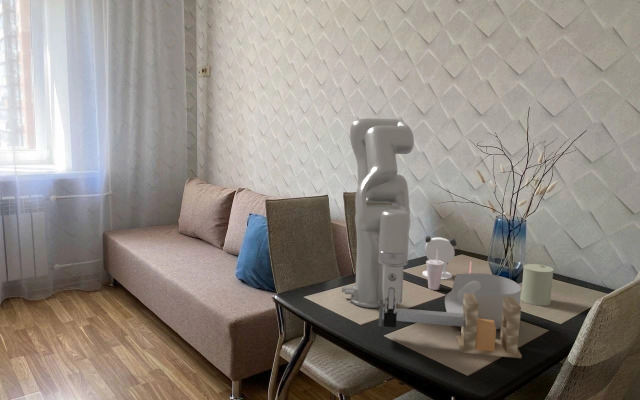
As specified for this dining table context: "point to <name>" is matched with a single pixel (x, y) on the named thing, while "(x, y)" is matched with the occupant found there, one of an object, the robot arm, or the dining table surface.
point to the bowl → (482, 294)
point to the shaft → (425, 316)
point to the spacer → (485, 335)
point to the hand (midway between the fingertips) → (389, 322)
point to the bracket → (507, 335)
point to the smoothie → (434, 272)
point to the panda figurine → (440, 252)
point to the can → (537, 284)
